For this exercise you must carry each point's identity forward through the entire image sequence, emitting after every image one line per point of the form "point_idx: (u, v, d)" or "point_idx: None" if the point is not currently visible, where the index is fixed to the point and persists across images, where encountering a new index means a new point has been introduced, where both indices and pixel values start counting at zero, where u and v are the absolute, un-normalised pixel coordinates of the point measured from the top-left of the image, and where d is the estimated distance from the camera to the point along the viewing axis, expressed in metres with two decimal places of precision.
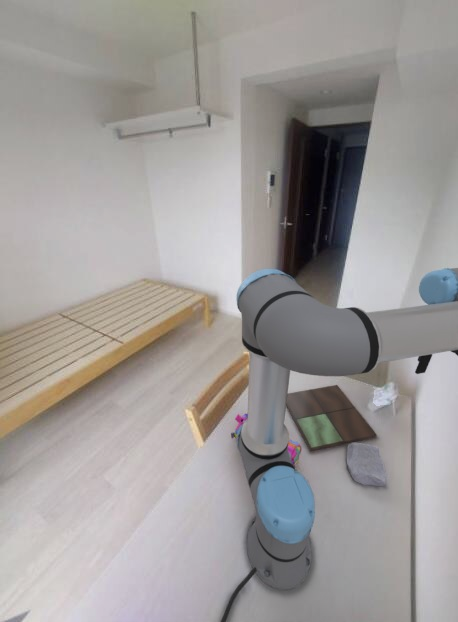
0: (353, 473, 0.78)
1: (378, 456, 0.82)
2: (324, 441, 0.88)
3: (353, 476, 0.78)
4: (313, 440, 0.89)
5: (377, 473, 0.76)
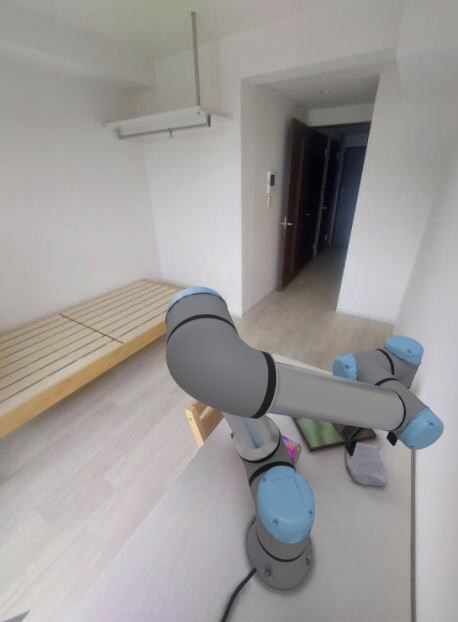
0: (353, 473, 0.78)
1: (378, 456, 0.82)
2: (324, 441, 0.88)
3: (353, 476, 0.78)
4: (313, 440, 0.89)
5: (377, 473, 0.76)
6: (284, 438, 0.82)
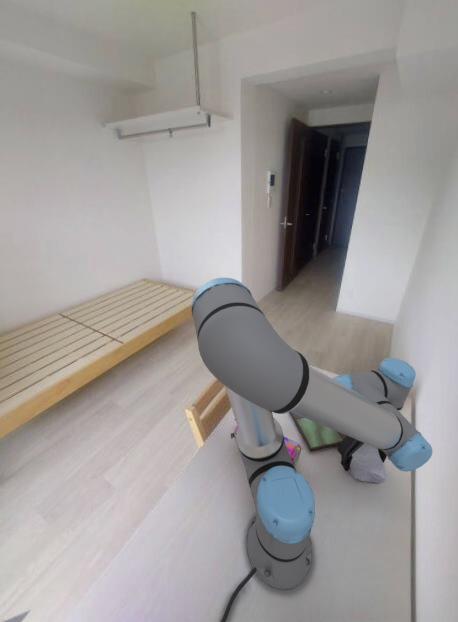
0: (352, 469, 0.77)
1: (377, 452, 0.81)
2: (324, 441, 0.88)
3: (352, 472, 0.77)
4: (313, 440, 0.89)
5: (376, 469, 0.75)
6: (284, 438, 0.82)
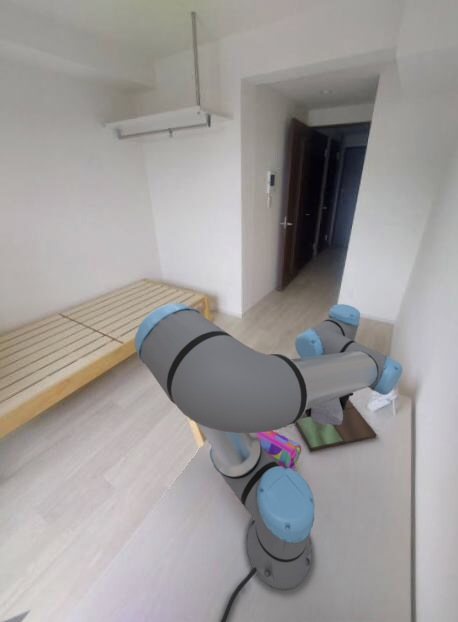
0: (313, 413, 0.83)
1: (338, 400, 0.87)
2: (324, 441, 0.88)
3: (313, 416, 0.83)
4: (313, 440, 0.89)
5: (334, 412, 0.82)
6: (284, 438, 0.82)
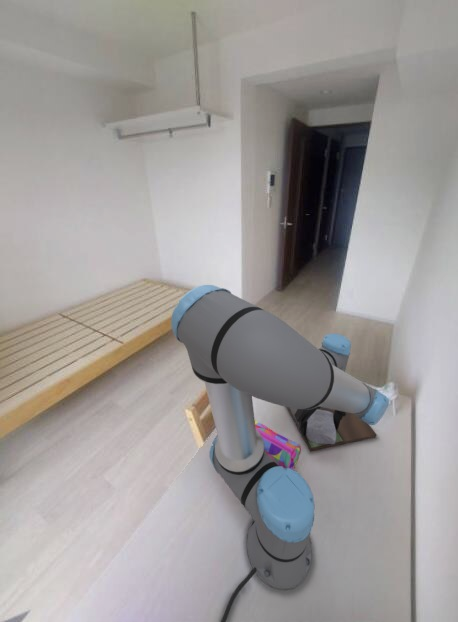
0: (308, 433, 0.88)
1: (331, 419, 0.92)
2: None
3: (308, 436, 0.88)
4: None
5: (328, 432, 0.86)
6: (284, 438, 0.82)
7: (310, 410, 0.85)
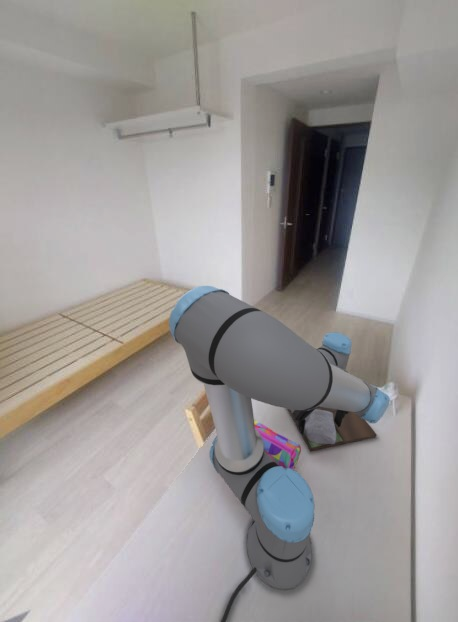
0: (308, 433, 0.88)
1: (331, 419, 0.92)
2: None
3: (308, 436, 0.88)
4: None
5: (328, 432, 0.86)
6: (284, 439, 0.82)
7: None
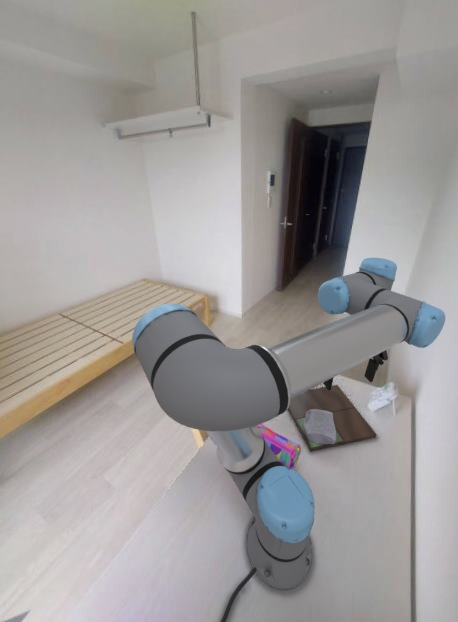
0: (308, 433, 0.88)
1: (331, 419, 0.92)
2: None
3: (308, 436, 0.88)
4: None
5: (328, 432, 0.86)
6: (284, 439, 0.82)
7: None
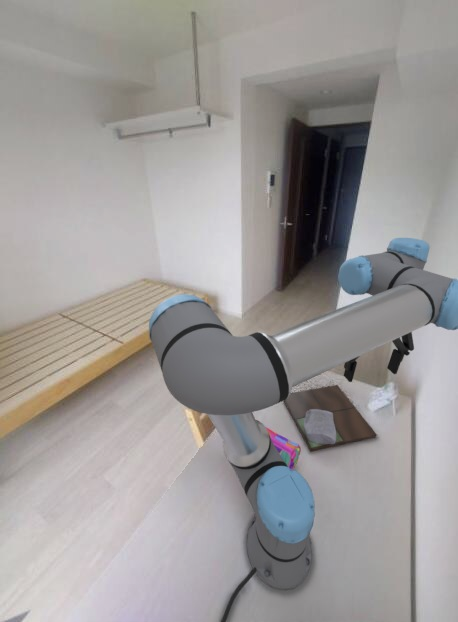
0: (308, 433, 0.88)
1: (331, 419, 0.92)
2: None
3: (308, 436, 0.88)
4: None
5: (328, 432, 0.86)
6: (283, 439, 0.82)
7: None
